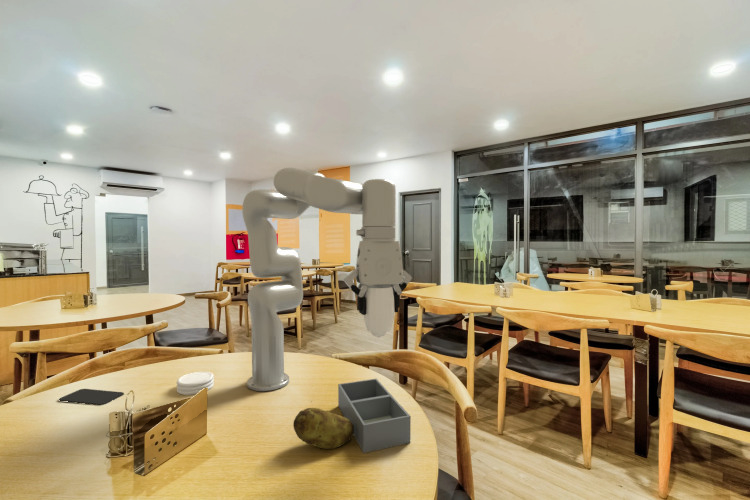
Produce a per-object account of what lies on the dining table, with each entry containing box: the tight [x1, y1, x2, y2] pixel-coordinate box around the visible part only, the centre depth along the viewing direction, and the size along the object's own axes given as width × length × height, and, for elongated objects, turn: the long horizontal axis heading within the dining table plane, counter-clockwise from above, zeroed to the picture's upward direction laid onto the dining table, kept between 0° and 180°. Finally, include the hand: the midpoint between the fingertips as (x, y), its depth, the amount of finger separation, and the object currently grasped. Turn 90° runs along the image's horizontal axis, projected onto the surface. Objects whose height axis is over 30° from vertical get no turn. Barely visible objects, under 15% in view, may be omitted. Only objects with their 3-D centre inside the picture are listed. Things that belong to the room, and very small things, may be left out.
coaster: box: [176, 371, 215, 396], centre depth 107 cm, size 10×10×4 cm
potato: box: [293, 407, 354, 450], centre depth 77 cm, size 8×13×8 cm, turn 87°
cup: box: [363, 285, 395, 338], centre depth 81 cm, size 7×7×21 cm
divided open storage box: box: [337, 378, 412, 454], centre depth 87 cm, size 22×11×6 cm, turn 20°
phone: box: [58, 388, 125, 406], centre depth 100 cm, size 7×1×15 cm
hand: (378, 311), depth 80 cm, fingers closed on cup, 7 cm apart
